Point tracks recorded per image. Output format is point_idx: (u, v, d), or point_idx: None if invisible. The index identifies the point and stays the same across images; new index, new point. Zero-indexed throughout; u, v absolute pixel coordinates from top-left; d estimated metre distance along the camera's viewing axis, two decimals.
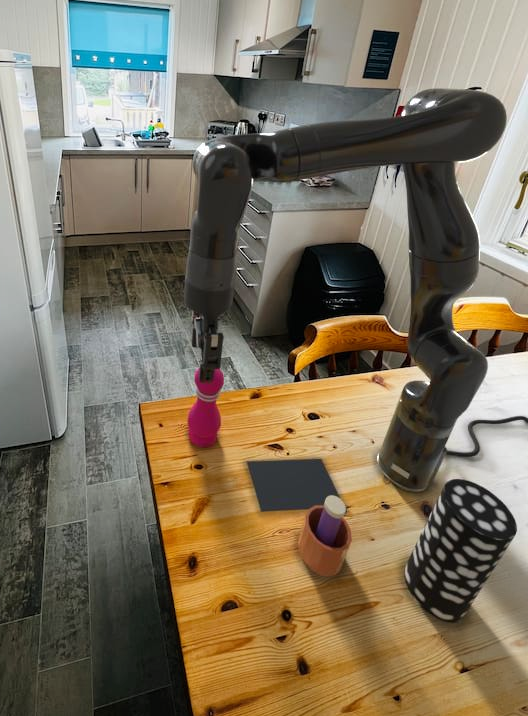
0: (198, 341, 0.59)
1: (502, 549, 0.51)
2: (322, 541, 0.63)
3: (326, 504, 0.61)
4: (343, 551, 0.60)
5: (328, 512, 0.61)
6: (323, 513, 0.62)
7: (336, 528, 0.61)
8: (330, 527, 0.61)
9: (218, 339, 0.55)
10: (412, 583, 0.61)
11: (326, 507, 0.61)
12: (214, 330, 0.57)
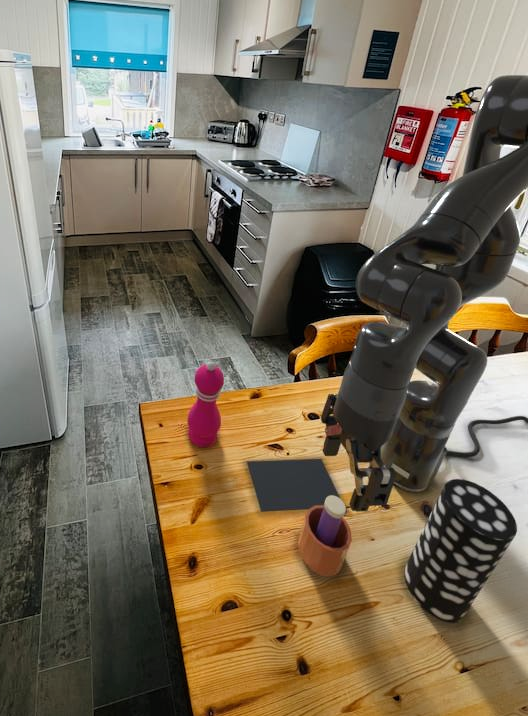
0: (355, 468, 0.53)
1: (502, 549, 0.51)
2: (322, 541, 0.63)
3: (326, 504, 0.61)
4: (343, 551, 0.60)
5: (328, 512, 0.61)
6: (323, 513, 0.62)
7: (336, 528, 0.61)
8: (330, 527, 0.61)
9: (390, 476, 0.49)
10: (412, 583, 0.61)
11: (326, 507, 0.61)
12: (381, 463, 0.50)
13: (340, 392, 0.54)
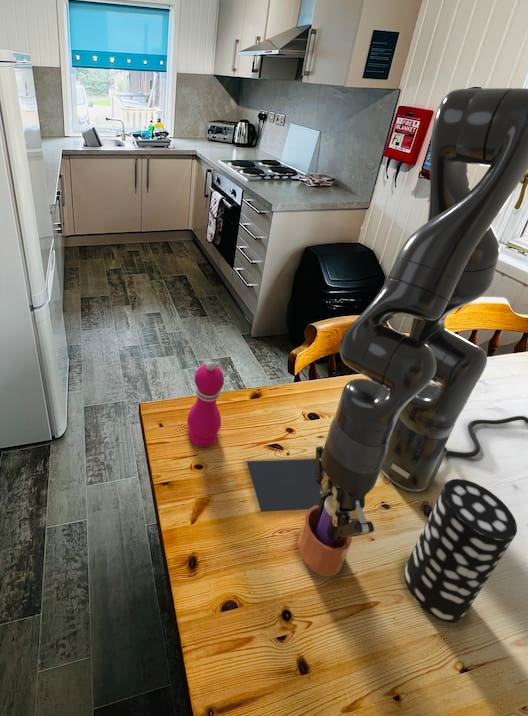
0: (336, 510, 0.58)
1: (502, 549, 0.51)
2: (322, 541, 0.63)
3: (326, 504, 0.61)
4: (343, 551, 0.60)
5: (328, 512, 0.61)
6: (323, 513, 0.62)
7: None
8: None
9: (368, 532, 0.54)
10: (412, 583, 0.61)
11: (326, 507, 0.61)
12: (363, 517, 0.54)
13: (327, 443, 0.57)
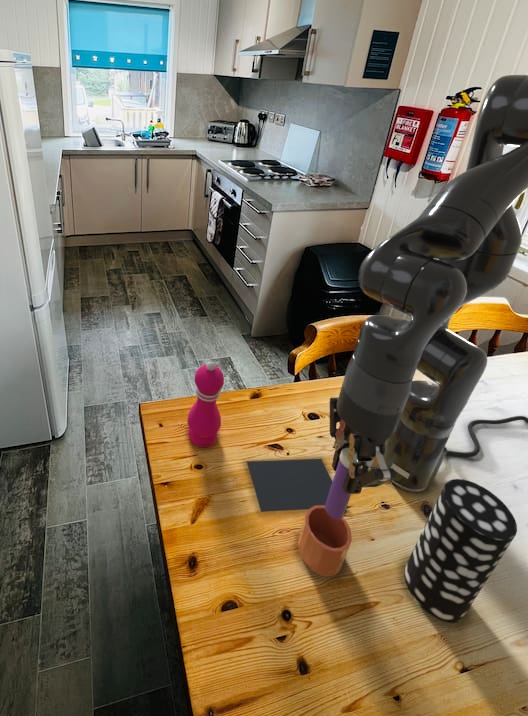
0: (353, 459, 0.54)
1: (502, 549, 0.51)
2: (337, 497, 0.59)
3: (342, 456, 0.57)
4: (343, 551, 0.60)
5: (344, 464, 0.57)
6: (338, 466, 0.58)
7: None
8: None
9: (390, 478, 0.50)
10: (412, 583, 0.61)
11: (342, 459, 0.57)
12: (384, 463, 0.50)
13: (343, 386, 0.53)
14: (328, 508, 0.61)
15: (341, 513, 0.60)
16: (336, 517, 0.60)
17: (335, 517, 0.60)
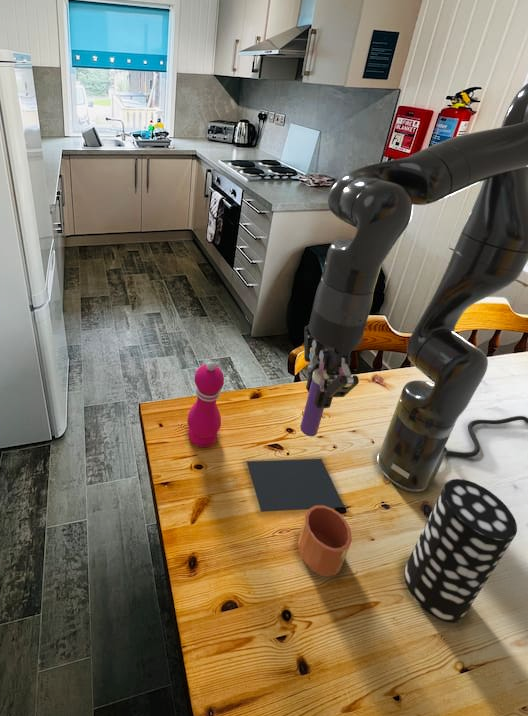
0: (322, 373, 0.60)
1: (502, 549, 0.51)
2: (310, 414, 0.65)
3: (314, 374, 0.63)
4: (343, 551, 0.60)
5: (316, 381, 0.63)
6: (311, 385, 0.64)
7: None
8: None
9: (353, 383, 0.56)
10: (412, 583, 0.61)
11: (314, 377, 0.63)
12: (348, 371, 0.56)
13: (313, 306, 0.59)
14: (303, 426, 0.67)
15: (314, 429, 0.66)
16: (310, 434, 0.66)
17: (309, 434, 0.66)
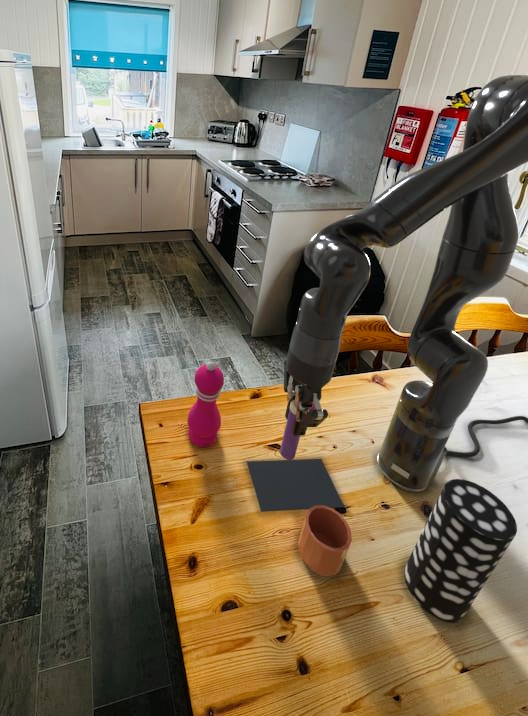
0: (298, 406, 0.67)
1: (502, 549, 0.51)
2: (288, 440, 0.72)
3: (291, 405, 0.70)
4: (343, 551, 0.60)
5: (292, 411, 0.70)
6: (289, 414, 0.71)
7: None
8: None
9: (323, 417, 0.63)
10: (412, 583, 0.61)
11: (291, 408, 0.70)
12: (319, 406, 0.63)
13: (290, 346, 0.66)
14: (282, 450, 0.74)
15: (291, 454, 0.73)
16: (288, 458, 0.73)
17: (287, 458, 0.73)
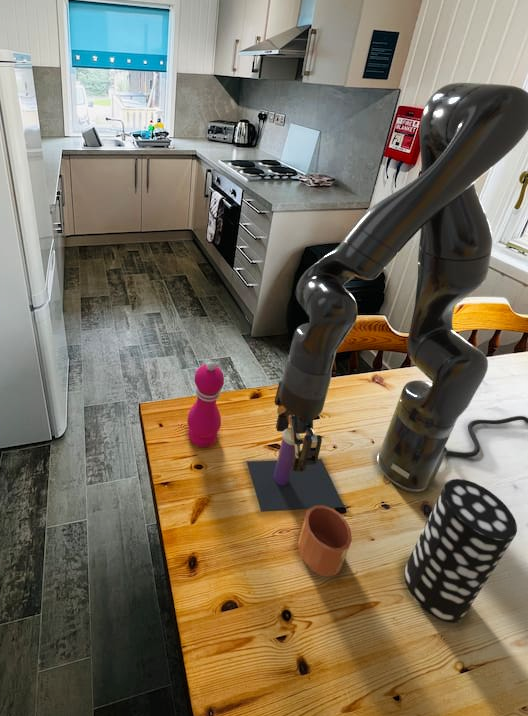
0: (294, 437, 0.68)
1: (502, 549, 0.51)
2: (281, 467, 0.75)
3: (284, 434, 0.73)
4: (343, 551, 0.60)
5: (285, 440, 0.72)
6: (282, 443, 0.74)
7: (292, 454, 0.73)
8: (287, 454, 0.73)
9: (317, 442, 0.64)
10: (412, 583, 0.61)
11: (283, 436, 0.73)
12: (312, 432, 0.66)
13: (282, 378, 0.69)
14: (276, 476, 0.77)
15: (285, 480, 0.76)
16: (281, 483, 0.76)
17: (280, 483, 0.76)
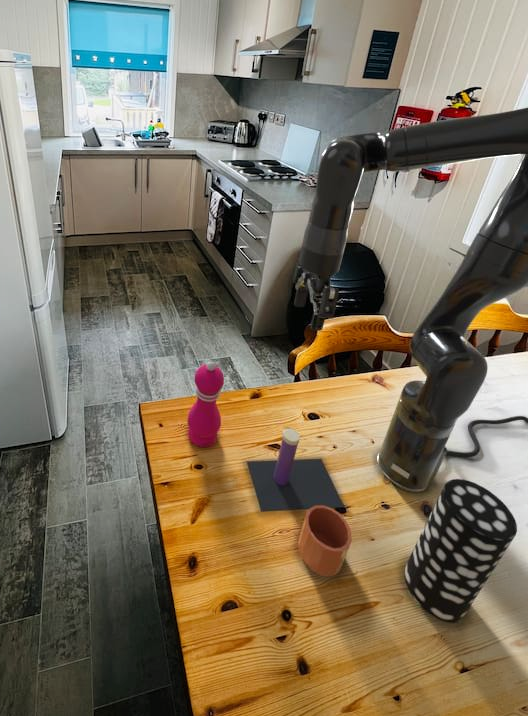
0: (313, 296, 0.75)
1: (502, 549, 0.51)
2: (281, 467, 0.75)
3: (284, 434, 0.73)
4: (343, 551, 0.60)
5: (285, 440, 0.72)
6: (282, 443, 0.74)
7: (292, 454, 0.73)
8: (287, 454, 0.73)
9: (335, 292, 0.71)
10: (412, 583, 0.61)
11: (283, 436, 0.73)
12: (330, 286, 0.72)
13: (302, 243, 0.76)
14: (276, 476, 0.77)
15: (285, 480, 0.76)
16: (281, 483, 0.76)
17: (280, 483, 0.76)
